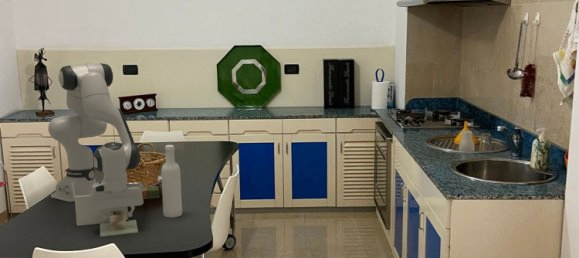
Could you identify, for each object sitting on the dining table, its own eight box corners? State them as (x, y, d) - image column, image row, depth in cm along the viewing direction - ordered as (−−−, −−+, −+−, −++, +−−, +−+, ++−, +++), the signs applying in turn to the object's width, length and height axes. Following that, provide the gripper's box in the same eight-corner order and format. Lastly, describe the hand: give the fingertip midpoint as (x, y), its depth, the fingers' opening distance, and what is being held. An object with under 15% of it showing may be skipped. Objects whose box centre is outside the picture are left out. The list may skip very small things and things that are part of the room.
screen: (76, 225, 235) (74, 197, 233) (77, 224, 237) (74, 196, 234) (128, 220, 241) (126, 192, 239) (128, 219, 243) (126, 191, 240)
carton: (124, 196, 277) (124, 187, 276) (159, 193, 281) (158, 184, 280) (124, 200, 269) (123, 192, 268) (159, 198, 273) (159, 189, 272)
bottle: (173, 210, 253) (170, 142, 248) (186, 213, 249) (183, 145, 243) (159, 215, 247) (155, 146, 241) (172, 219, 242) (169, 148, 237)
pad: (100, 236, 223) (100, 235, 222) (100, 225, 236) (100, 223, 236) (137, 232, 227) (137, 231, 227) (135, 221, 240) (135, 219, 240)
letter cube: (110, 230, 227) (109, 215, 226) (110, 225, 233) (109, 211, 232) (126, 228, 229) (125, 214, 228) (126, 224, 235) (125, 209, 234)
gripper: (142, 179, 234) (144, 212, 237) (88, 184, 228) (91, 218, 231) (143, 183, 228) (145, 217, 231) (88, 188, 222) (91, 223, 225)
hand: (117, 217), depth 231 cm, fingers open, 8 cm apart
